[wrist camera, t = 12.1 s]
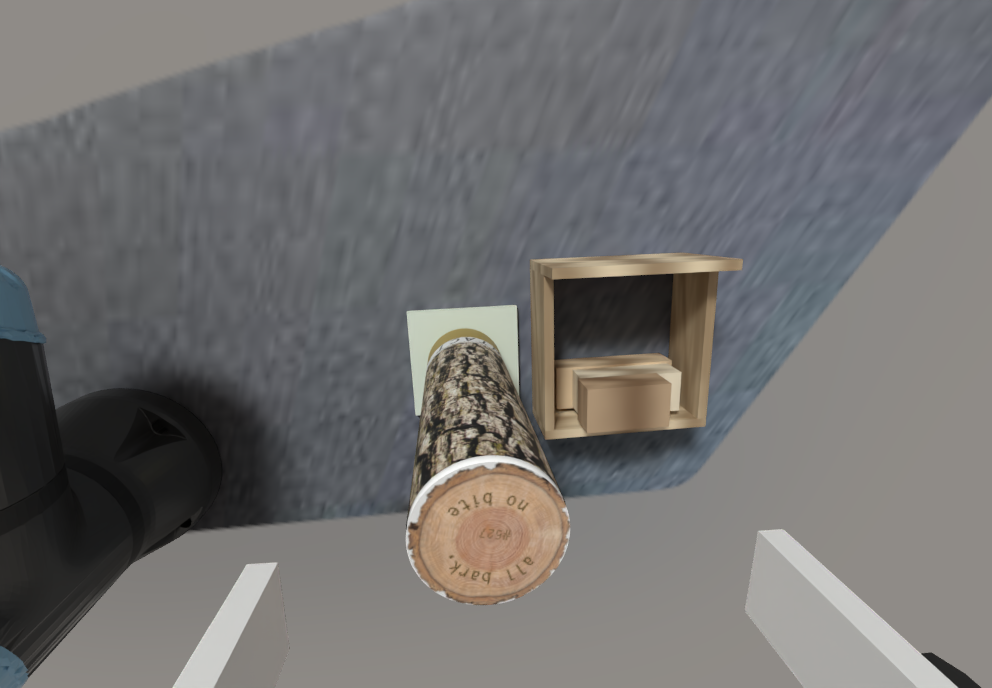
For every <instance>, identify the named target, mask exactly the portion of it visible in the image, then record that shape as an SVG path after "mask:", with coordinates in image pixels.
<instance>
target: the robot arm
mask: <svg viewBox="0 0 992 688" xmlns="http://www.w3.org/2000/svg"><path fill="white" fill-rule="evenodd" d="M43 343H46V338H45V336H44V335H43V334H42V333H40V332H39V329H38V326H37V322H36V318H35V314H34V311H33V307H32V303H31V300H30V296H29V292H28V289H27V287H26V285H25V283H24V282H23V281H22V280H21V279H20V277H19V276H17V275H16V274H15V273H13V272H12V271H11V270H9V269H7V268H5V267H3V266H1V265H0V688H21V687H22V686H23V685H24V684H25V682H26V681H27V679H28V677H29V676H30V675H31V674H32V673H33V672H34V671H35V670H36V669H37V668H38V667H39V665H40V664H41V663H42V662H43V661H44V660H45V659H46V658H47V657H48V656H49V654H50V653H51V652H52V651H53V650H54V649H55V648H56V647H57V646H58V644H59V643H60V642H61V641H62V640H63V639H64V638H65V637H66V636H67V634H68V633H69V632H70V631H71V630H72V629H73V628H74V627H75V626H76V624H77V623H78V622H79V621H80V620H81V619H82V618H83V617H84V616H85V615H86V613H87V612H88V611H89V610H90V609H91V608H92V607H93V606H94V605H95V603H96V602H97V601H98V600H99V599H100V598H101V597H102V595H103V594H104V593H105V592H106V591H107V590H108V589H109V588H110V587H111V586H112V585H113V584H114V582H115V581H116V580H117V579H118V578H119V577H120V576H121V574H122V573H123V572H124V571H125V570H126V569H127V568H128V567H129V566H130V565H131V564H132V563H133V562H135V561H137V560H139V559H141V558H142V557H145V556H146V555H148V554H150V553H152V552H154V551H155V550H157V549H159V548H161V547H163V546H164V545H166V544H168V543H170V542H171V541H174V540H175V539H177V538H179V537H180V536H181V535H183V534H184V533H186V532H187V531H188V530H189V529H190V528H192V527H193V526H194V525H195V524H196V523H197V521H198V520H199V519H200V518H201V517H202V516H203V514H204V513H205V512H206V511H207V510H208V509H209V507H210V506H211V504H212V503H213V501H214V500H215V498H216V496H217V493H218V491H219V487H220V483H221V476H222V466H221V459H220V455H219V452H218V449H217V446H216V444H215V442H214V440H213V438H212V436H211V435H210V433H209V432H208V430H207V429H206V428H205V426H204V425H203V424H202V423H201V422H200V421H199V420H198V419H197V418H196V417H195V416H194V415H193V414H192V413H190V412H189V411H188V410H187V409H185V408H184V407H182V406H181V405H179V404H177V403H176V402H174V401H172V400H170V399H168V398H165V397H163V396H160V395H157V394H154V393H151V392H147V391H143V390H136V389H124V388H119V389H107V390H101V391H97V392H93V393H90V394H87V395H85V396H82V397H80V398H78V399H76V400H74V401H72V402H70V403H67V404H65V405H63V406H61V407H59V408H58V409H56V410H55V405H54V400H53V394H52V389H51V384H50V378H49V373H48V368H47V362H46V357H45V352H44V346H43ZM745 612H746V613H747V614H748V615H749V617H750V618H751V619H752V621H753V622H754V623H755V625H756V626H757V627H758V629H759V630H760V631H761V632H762V634H763V635H764V636H765V638H766V639H767V640H768V642H769V643H770V644H771V645H772V647H773V648H774V649H775V651H776V652H777V653H778V654H779V656H780V657H781V658H782V660H783V661H784V662H785V664H786V665H787V666H788V668H789V669H790V670H791V671H792V673H793V674H794V675H795V677H796V678H797V679H798V680H799V682H800V683H801V684H802V686H803V687H804V688H981V687H980V686H979V685H978V684H976V683H975V682H974V681H973V680H972V679H970V678H969V677H968V676H967V675H966V674H965V673H963V672H961V671H960V670H958V669H957V668H955V667H954V666H952V665H950V664H949V663H947V662H945V661H944V660H942V659H941V658H939V657H938V656H936V655H934V654H933V653H922V654H920V653H919V652H918V651H917V650H916V649H915V648H914V647H913V646H911V645H910V644H909V643H908V642H907V641H906V640H905V639H904V638H903V637H902V636H901V635H899V634H898V633H897V632H896V631H895V630H894V629H893V628H892V627H890V625H888V624H887V623H886V622H885V621H884V620H883V619H882V618H881V617H880V616H879V615H877V614H876V613H875V612H874V611H873V610H872V609H871V608H869V606H867V605H866V604H865V603H864V602H863V601H862V600H861V599H860V598H859V597H858V596H856V595H855V594H854V593H853V592H852V591H851V590H850V589H849V588H848V587H846V586H845V585H844V584H843V583H842V582H841V581H840V580H839V579H838V578H836V577H835V576H834V575H833V574H832V573H831V572H830V571H829V570H828V569H827V568H825V567H824V566H823V565H822V564H821V563H820V562H819V561H818V560H817V559H816V558H814V557H813V556H812V555H811V554H810V553H809V552H808V551H807V550H806V549H804V548H803V547H802V546H801V545H800V544H799V543H798V542H797V541H796V540H795V539H793V538H792V537H791V536H790V535H789V534H788V533H787V532H786V531H785V530H783V529H782V530H766V531H758V535H757V541H756V547H755V553H754V559H753V565H752V571H751V577H750V583H749V589H748V596H747V601H746V607H745ZM289 649H290V647H289V640H288V632H287V625H286V618H285V610H284V603H283V596H282V589H281V581H280V574H279V566H278V562H273V563H258V564H247V565H246V566H245V568H244V570H243V571H242V573H241V575H240V577H239V578H238V580H237V581H236V583H235V585H234V586H233V588H232V590H231V591H230V593H229V595H228V596H227V598H226V600H225V601H224V603H223V605H222V606H221V608H220V610H219V611H218V613H217V615H216V616H215V618H214V619H213V621H212V623H211V624H210V626H209V628H208V629H207V631H206V633H205V635H204V636H203V638H202V639H201V641H200V643H199V644H198V646H197V648H196V649H195V651H194V653H193V655H192V656H191V658H190V659H189V661H188V663H187V664H186V666H185V668H184V670H183V671H182V673H181V674H180V676H179V678H178V680H177V681H176V683H175V684H174V686H173V688H275V686H276V683H277V680H278V678H279V675H280V672H281V670H282V667H283V665H284V662H285V659H286V657H287V654H288V651H289Z"/></svg>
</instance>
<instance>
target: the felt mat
mask: <svg viewBox="0 0 992 688" xmlns="http://www.w3.org/2000/svg"><path fill="white" fill-rule="evenodd" d="M407 321H408V333H409V344H410V356H411V367H412V378H413V390H414V401H415V413H416V415H421V408H422V400H423V392H424V384H425V377H426V369H427V363H428V357H429V353H430V351H431V349H432V347H433V345H434V344H435V342H436V341H437V340H438V339H439V338H440V337H441V336H443V335H444V334H446V333H448V332H450V331H452V330H456V329H462V328H468V329H474V330H477V331H480V332H482V333H484V334H485V335H487V336H488V337H489V338H490V339H492V341H493V342H494V343H495V344H496V346H497V348H498V350H499V352H500V355H501V357H502V358H503V361H504V363H505V365H506V368H507V370H508V372H509V374H510V377H511V379H512V381H513V384H514V386H515V388H516V390H517V393H518V395H519V369H518V331H517V306H516V305H507V306H489V307H471V308H453V309H435V310H417V311H407Z"/></svg>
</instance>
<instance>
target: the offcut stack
mask: <svg viewBox="0 0 992 688" xmlns="http://www.w3.org/2000/svg"><path fill="white" fill-rule="evenodd" d="M681 373H682V372H680V371H679V370H677V369H675V368H674V367H672V360H670V359H668V358H667V357H665V356H663V355H661V354H660V353H650V354H635V355H620V356H605V357H591V358H576V359H561V360H554V406H555V408H556V409H568V408H574V409H575V411H576V412H577V414H578V419H577V420H578V421H579V423H580V424H581V425H582V427H583V428H584V430H585V431H586V433H599V432H611V431H623V430H635V429H648V428H660V427H669V418H670V411H678V410H679V402H680V387H681Z"/></svg>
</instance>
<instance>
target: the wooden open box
mask: <svg viewBox="0 0 992 688" xmlns="http://www.w3.org/2000/svg"><path fill="white" fill-rule="evenodd" d="M742 264H743V259H736V258H727V257H718V256H708V255H699V254H690V253H666V254H644V255H622V256H600V257H578V258H557V259H535V260H530V292H531V347H532V403H533V414H534V416H535V419H536V421H537V423H538V425H539V427H540V429H541V431H542V434H543V436H544V438H545V440H548V439H560V438H572V437H584V436H596V435H608V434H620V433H632V432H644V431H656V430H668V429H680V428H692V427H704V426H705V424H706V413H707V401H708V389H709V378H710V366H711V354H712V342H713V331H714V319H715V307H716V296H717V284H718V272H719V271H732V270H742ZM672 273H674V275H673V291H672V307H671V324H670V340H669V357H668V359H670V360H672V367H674V368H675V369H677V370H679V371H680V372H682V373H681V387H680V402H679V410H678V411H670V418H669V427H660V428H648V429H635V430H623V431H611V432H599V433H586V431H585V430H584V428H583V427H582V425H581V424H580V423H579V421H578V420H577V419H578V414H577V412H576V411H575V409H574V408H568V409H556V408H555V406H554V279H572V278H592V277H612V276H632V275H652V274H672Z"/></svg>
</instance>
